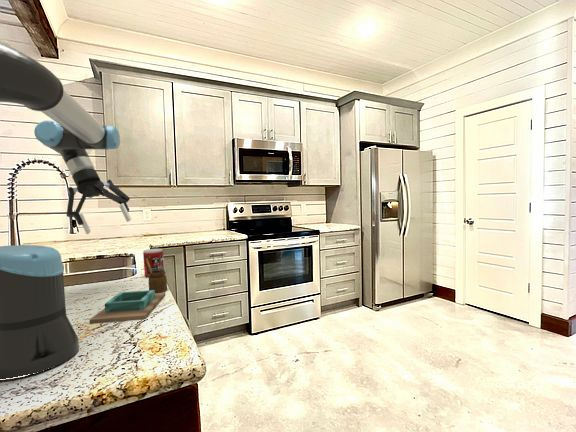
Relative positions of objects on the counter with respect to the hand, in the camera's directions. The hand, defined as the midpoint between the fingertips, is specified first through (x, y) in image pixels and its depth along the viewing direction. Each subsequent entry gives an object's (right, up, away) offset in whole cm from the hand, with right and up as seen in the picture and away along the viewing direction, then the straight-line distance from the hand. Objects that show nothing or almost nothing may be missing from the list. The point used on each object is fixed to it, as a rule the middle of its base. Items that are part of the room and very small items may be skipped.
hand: (109, 226), depth 108 cm
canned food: (+6, -22, +23) cm, 32 cm away
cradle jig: (+16, -24, -16) cm, 33 cm away
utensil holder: (+17, -23, +1) cm, 28 cm away
